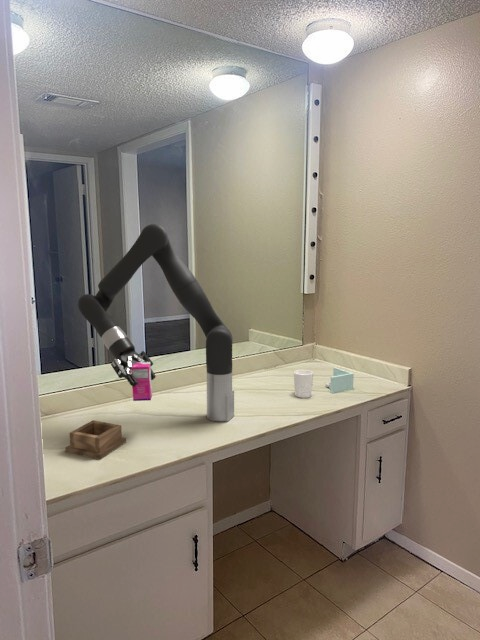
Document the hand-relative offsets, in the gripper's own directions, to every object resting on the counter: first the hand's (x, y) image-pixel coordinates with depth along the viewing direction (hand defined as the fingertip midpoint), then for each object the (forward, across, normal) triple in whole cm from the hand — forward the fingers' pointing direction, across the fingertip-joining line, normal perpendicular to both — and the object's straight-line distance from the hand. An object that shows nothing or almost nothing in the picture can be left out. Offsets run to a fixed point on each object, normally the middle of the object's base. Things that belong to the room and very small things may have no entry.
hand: (144, 381), depth 158 cm
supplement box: (+3, 0, +5) cm, 6 cm away
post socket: (+8, -15, +18) cm, 25 cm away
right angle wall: (+37, +83, -10) cm, 91 cm away
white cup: (+32, +66, -5) cm, 73 cm away
